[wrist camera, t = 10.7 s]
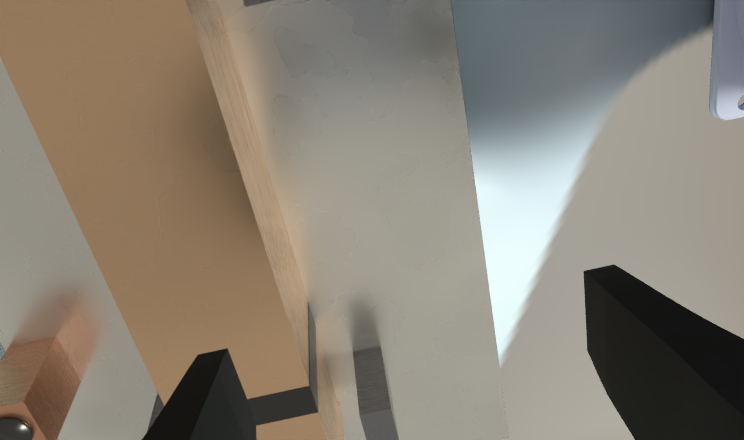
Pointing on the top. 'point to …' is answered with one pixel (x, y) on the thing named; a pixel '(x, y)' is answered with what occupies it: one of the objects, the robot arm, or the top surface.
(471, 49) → the top surface
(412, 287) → the firebox plate
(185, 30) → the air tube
